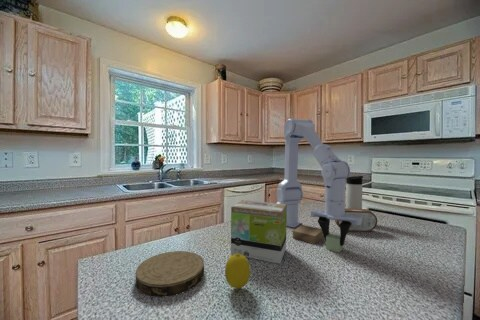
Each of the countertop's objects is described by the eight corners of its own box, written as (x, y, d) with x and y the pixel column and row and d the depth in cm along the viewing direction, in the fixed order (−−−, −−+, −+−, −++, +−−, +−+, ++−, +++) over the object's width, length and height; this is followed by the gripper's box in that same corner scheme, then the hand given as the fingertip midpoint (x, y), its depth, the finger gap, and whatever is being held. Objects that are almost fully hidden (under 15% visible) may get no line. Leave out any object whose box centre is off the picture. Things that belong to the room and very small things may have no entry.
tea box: (229, 256, 65) (229, 206, 65) (241, 243, 75) (241, 199, 74) (281, 265, 60) (281, 210, 60) (286, 249, 70) (287, 202, 69)
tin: (374, 230, 87) (374, 208, 87) (378, 233, 84) (378, 210, 84) (334, 228, 89) (334, 207, 88) (337, 231, 86) (337, 209, 85)
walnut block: (292, 239, 79) (292, 230, 79) (301, 232, 85) (301, 224, 85) (315, 245, 74) (315, 236, 74) (323, 237, 80) (323, 229, 80)
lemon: (224, 282, 52) (224, 248, 52) (248, 281, 53) (248, 247, 52) (225, 297, 47) (225, 259, 46) (251, 296, 47) (251, 258, 47)
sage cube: (325, 249, 70) (325, 236, 70) (329, 244, 73) (329, 232, 73) (339, 252, 68) (339, 239, 67) (342, 248, 71) (342, 235, 71)
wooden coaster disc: (183, 304, 45) (183, 290, 45) (119, 291, 49) (119, 277, 49) (214, 266, 60) (214, 255, 60) (162, 258, 65) (162, 248, 64)
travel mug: (365, 223, 95) (366, 176, 94) (349, 223, 95) (350, 176, 94) (357, 219, 101) (358, 175, 100) (343, 219, 101) (343, 175, 100)
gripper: (307, 199, 71) (307, 241, 72) (358, 205, 62) (357, 253, 63) (315, 195, 77) (314, 234, 77) (362, 201, 68) (362, 245, 68)
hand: (334, 242), depth 70 cm, fingers closed on sage cube, 4 cm apart
